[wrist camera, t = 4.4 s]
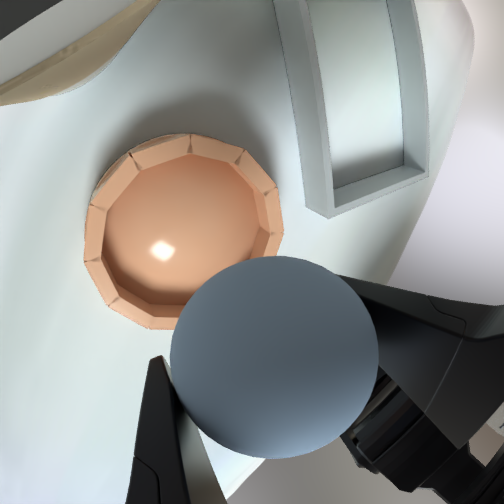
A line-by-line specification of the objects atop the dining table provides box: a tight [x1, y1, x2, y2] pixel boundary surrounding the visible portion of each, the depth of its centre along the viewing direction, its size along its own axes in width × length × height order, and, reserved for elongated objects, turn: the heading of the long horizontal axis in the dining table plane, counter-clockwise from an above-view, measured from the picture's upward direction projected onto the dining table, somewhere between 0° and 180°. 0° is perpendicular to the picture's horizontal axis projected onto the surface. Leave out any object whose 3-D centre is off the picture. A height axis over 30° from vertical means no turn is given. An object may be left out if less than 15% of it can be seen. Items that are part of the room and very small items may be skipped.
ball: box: [170, 256, 379, 459], centre depth 8 cm, size 6×6×6 cm
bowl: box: [84, 133, 284, 330], centre depth 15 cm, size 10×10×2 cm
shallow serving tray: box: [273, 0, 429, 219], centre depth 15 cm, size 15×10×2 cm
